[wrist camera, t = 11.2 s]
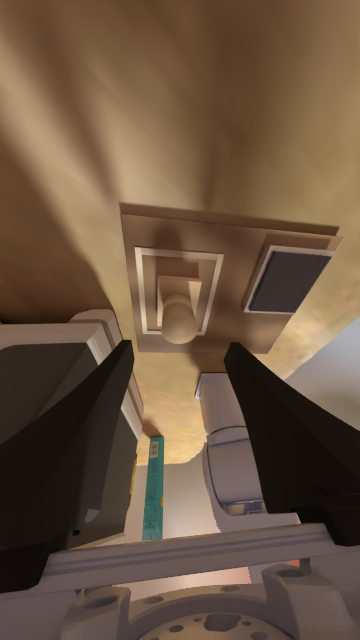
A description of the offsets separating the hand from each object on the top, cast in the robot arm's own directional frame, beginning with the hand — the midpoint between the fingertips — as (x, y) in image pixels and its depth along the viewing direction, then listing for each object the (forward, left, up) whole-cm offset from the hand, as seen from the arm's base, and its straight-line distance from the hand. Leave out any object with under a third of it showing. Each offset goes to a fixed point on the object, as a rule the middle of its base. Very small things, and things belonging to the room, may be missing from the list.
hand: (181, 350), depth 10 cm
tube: (-55, +3, -9) cm, 56 cm away
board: (-1, -5, -9) cm, 11 cm away
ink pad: (+3, -12, -8) cm, 15 cm away
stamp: (0, 0, -8) cm, 8 cm away
